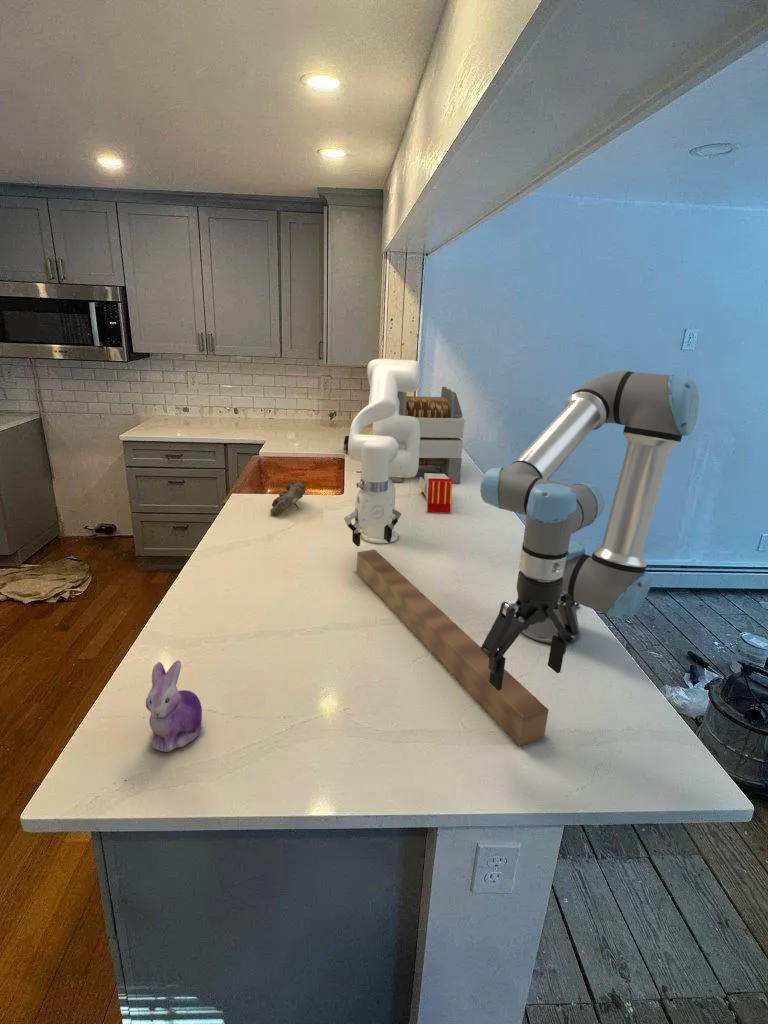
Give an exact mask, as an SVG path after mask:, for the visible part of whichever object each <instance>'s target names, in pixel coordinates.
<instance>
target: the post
mask: <svg viewBox="0 0 768 1024" xmlns="http://www.w3.org/2000/svg"><path fill="white" fill-rule="evenodd" d="M356 573H357V574H358V575H359V576H360V577H361V579H363V580H364V582H365V583H366V584H367V585H368V586H369V587H370V588H371V589H372V590H373V591H374V592H375V593H376V595H377V596H378V597H379V598H380V599H381V600H382V601H383V603H385V604H386V606H388V607H389V609H390V610H391V611H392V612H393V613H394V614H395V615H396V616H397V617H398V618H399V619H400V620H401V622H403V623H404V625H405V626H406V627H407V628H408V629H409V630H410V631H411V632H412V634H413V635H415V637H416V638H417V639H418V640H419V641H420V642H421V643H422V644H423V645H424V646H425V647H426V648H427V649H428V650H429V652H431V654H432V655H433V656H434V657H435V658H436V659H437V660H438V661H439V663H440V664H442V665H443V667H445V668H446V670H447V671H448V672H449V673H450V674H451V675H452V676H453V677H454V678H455V679H456V681H458V683H460V684H461V686H462V687H463V688H464V689H465V691H467V692H468V693H469V694H470V696H472V697H473V698H474V700H475V701H476V702H477V703H478V705H480V706H481V707H482V708H483V710H485V712H486V713H487V714H488V715H489V716H490V717H491V718H492V719H493V720H494V722H496V723H497V725H498V726H499V727H500V728H501V729H502V730H503V731H504V732H505V733H506V734H507V735H508V736H509V737H510V738H511V740H512V741H513V742H514V743H515V744H516V745H517V746H518V747H522V746H525V745H528V744H531V743H534V742H536V741H539V740H543V739H544V738H545V733H546V727H547V722H548V716H549V708H547V707H546V706H545V705H544V704H543V703H542V702H541V701H540V700H539V699H538V698H536V697H535V696H534V695H533V694H532V693H531V692H530V691H529V690H528V689H527V688H526V687H525V686H524V685H522V683H521V682H519V681H518V680H517V679H516V678H515V677H514V676H513V675H512V674H510V672H508V671H507V669H506V668H504V674H503V681H502V689H501V690H497V689H496V688H495V687H494V686H493V685H492V684H491V683H490V682H489V679H490V670H489V668H488V665H489V658H488V657H487V656H486V655H485V654H484V653H483V652H482V651H481V645H480V644H478V643H477V642H476V641H475V640H474V639H473V638H472V637H470V635H468V634H467V632H465V631H464V630H463V629H462V628H460V627H459V626H458V625H457V623H455V622H454V621H453V620H452V619H451V618H450V617H448V615H447V614H445V613H444V611H442V610H441V609H440V608H439V607H438V606H437V605H435V603H433V602H432V601H431V600H430V599H429V598H428V597H427V596H426V595H425V594H424V593H423V592H422V591H421V590H420V589H419V588H417V587H416V586H415V585H414V584H413V583H412V582H411V581H410V580H409V579H408V578H406V576H404V575H403V574H402V573H401V572H400V571H399V570H398V569H396V568H395V567H394V566H393V565H392V564H391V563H390V562H389V561H388V560H386V558H385V557H384V556H382V555H381V553H379V552H378V551H377V550H376V549H369V550H361V551H356Z"/></svg>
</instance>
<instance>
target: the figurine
mask: <svg viewBox="0 0 768 1024" xmlns="http://www.w3.org/2000/svg"><path fill="white" fill-rule="evenodd" d="M181 668H182V661H181V660H176V661H174V662H173V663H172V665H171V666H170V667H169V669H167V671H166V669H165V666H164V664H163V663H162V662H161V661H157V662H156V663H155V664H154V665H153V668H152V672H151V685H152V686H151V688H150V690H149V692H148V694H147V697H146V699H145V706H146V709H147V710H148V711H149V713H150V716H149V726H150V729H151V730H152V733H153V740H152V748H153V749H154V750H157V751H161V752H166V753H167V752H171V751H173V750H175V749H178V748H183V747H185V746H187V745H188V744H189V743H191V742H192V741H193V740H195V739H196V738H197V737H198V736H199V735H200V734H201V731H202V720H203V709H202V704H201V701H200V699H199V697H198V696H197V694H195V692H193V691H191V690H186V689H184V690H179V689H178V687H177V683H178V680H179V676H180V673H181Z"/></svg>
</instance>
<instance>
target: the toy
mask: <svg viewBox="0 0 768 1024" xmlns="http://www.w3.org/2000/svg"><path fill="white" fill-rule="evenodd" d="M418 488H419V489H420V490H421V494H422V496H424V498H425V499H426V501H427V508H426V513H433V514H434V513H437V514H439V513H440V514H451V509H452V497H453V496H452V495H453V493H452V492H453V483H452V479H449V478H448V477H447V476H446V475H445V474H441V473H430V472H429V473H427V472H424V474H423V477H422V476H419V481H418Z"/></svg>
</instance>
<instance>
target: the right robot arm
mask: <svg viewBox="0 0 768 1024" xmlns="http://www.w3.org/2000/svg"><path fill="white" fill-rule="evenodd" d="M699 396H700V395H699V388H698V385H697V383H696V382H695V381H694V380H693V379H692V378H688V377H684V376H678V375H674V374H660V373H648V372H637V371H631V370H630V371H629V370H617V371H616V370H615V371H612V372H608V373H607V372H606V373H604V374H602V375H599V376H597V377H594V378H593V379H591V380H589V381H586V383H584V384H582V385H581V386H579V387H578V388H576V390H575V391H573V392H572V393H571V394H570V396H568V398H567V399H566V400H565V402H564V408H563V409H562V411H561V412H560V413H559V414H558V415H557V416H555V418H554V419H553V420H552V421H551V422H550V423H549V424H548V425H547V427H546V428H544V429H543V430H542V432H540V434H539V435H537V437H536V438H535V439H534V440H533V441H532V442H531V443H530V444H529V445H528V447H526V448H525V449H524V450H523V451H522V453H521V454H519V456H518V457H516V459H515V460H514V461H513V462H512V463H511V464H510V465H509V466H508V467H507V468H504V467H491V468H489V469H488V470H486V472H485V473H484V475H483V477H482V478H481V482H480V488H479V489H480V490H479V492H480V497H481V499H482V501H483V502H484V503H486V504H487V505H489V506H493V507H495V508H498V509H499V510H505V511H507V512H508V511H509V512H513V513H516V514H518V515H519V514H520V515H523V516H525V524H524V533H523V541H522V547H521V553H520V558H519V566H518V569H519V571H518V575H517V580H516V581H517V582H516V592H517V598H516V601H515V603H509V602H508V601H505V600H504V601H502V603H501V604H500V609H499V612H498V615H497V617H496V619H495V620H494V622H493V624H492V626H491V627H490V630H489V631H488V633H487V635H486V637H485V639H484V641H483V643H482V644H481V645H480V647H481V651H482V652H483V653H484V654H485V655H486V656H487V657H488V658H489V665H488V668H489V670H490V679H489V682H490V683H491V684H492V685H493V686H494V687H495V688H496V689H497V690H501V689H502V681H503V674H504V669H505V667H506V660H507V659H506V657H505V654H506V653H507V652H508V650H509V649H510V647H511V646H512V645H513V643H514V642H516V640H517V639H518V637H519V636H520V635H521V634H522V635H524V636H526V637H527V638H529V639H531V640H534V641H536V642H540V643H543V644H549V645H550V650H549V654H548V655H549V656H548V659H547V660H548V661H547V667H549V668H550V669H551V670H553V671H554V672H555V673H556V674H560V673H561V671H562V666H563V660H564V655H565V654H566V652H567V647H568V644H572V643H573V642H574V640H576V638H577V637H578V635H579V620H578V614H577V610H576V609H577V608H578V607H579V606H580V605H581V606H584V607H586V608H589V609H592V610H595V611H597V612H599V613H601V614H605V615H606V616H608V617H613V618H616V619H620V620H624V621H627V620H629V619H631V618H632V617H634V616H635V615H636V613H638V611H639V609H640V608H641V606H642V605H643V603H644V602H645V600H646V597H647V595H648V593H649V592H650V589H651V586H652V580H653V577H652V575H651V574H649V572H646V570H647V566H648V563H647V562H646V560H645V558H644V557H643V552H644V548H645V545H646V542H647V541H646V540H647V537H648V535H649V530H650V526H651V523H652V519H653V515H654V511H655V508H656V503H657V500H658V497H659V493H660V489H661V486H662V482H663V478H664V474H665V471H666V467H667V463H668V460H669V457H670V452H671V450H672V449H674V448H675V447H677V446H679V445H680V444H681V443H682V442H681V441H682V438H683V437H685V436H686V437H687V436H690V435H692V433H693V432H694V429H695V426H696V423H697V419H698V413H699V407H700V405H699V404H700V402H699V401H700V398H699ZM604 424H615V425H621V426H624V427H623V432H622V435H623V436H624V437H625V439H626V441H627V445H626V446H627V447H626V449H625V454H624V457H623V461H622V466H621V469H620V473H619V477H618V480H617V484H616V485H617V486H616V488H615V493H614V495H613V496H614V497H613V500H612V505H611V509H610V512H609V516H608V520H607V524H606V528H605V532H604V535H603V538H602V539H603V540H602V543H601V545H600V546H599V547H596V548H595V549H593V550H592V554H591V555H589V554H586V547H585V546H584V544H582V543H580V542H578V541H574V540H571V536H572V535H573V534H574V533H576V532H578V531H580V530H581V529H584V528H585V527H589V526H590V525H591V524H593V523H594V522H595V521H596V520H597V519H599V518H600V516H601V515H602V513H603V512H604V509H605V499H604V495H603V494H602V491H601V490H600V489H599V488H598V487H597V486H596V485H593V484H592V483H589V482H581V483H580V482H578V483H574V484H566V483H562V482H559V481H555V480H550V479H551V478H552V476H553V475H554V474H555V473H556V472H557V471H558V470H559V468H561V466H562V465H563V464H564V463H565V461H567V459H568V458H569V457H570V456H571V454H573V452H574V451H575V450H576V449H577V448H578V447H579V446H580V445H581V443H582V442H583V441H584V440H585V439H586V438H587V436H588V435H589V434H591V432H593V431H596V430H598V429H600V428H602V426H603V425H604Z"/></svg>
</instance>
